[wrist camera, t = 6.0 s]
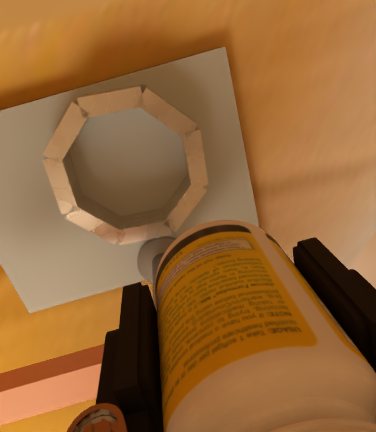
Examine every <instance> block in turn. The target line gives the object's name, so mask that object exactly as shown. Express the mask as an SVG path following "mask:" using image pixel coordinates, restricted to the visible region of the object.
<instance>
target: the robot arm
mask: <svg viewBox="0 0 376 432" xmlns="http://www.w3.org/2000/svg"><path fill="white" fill-rule="evenodd" d="M293 256H294V265H295V266H296V268H297V269H298V271H299V272H300V273H301V274H302V276H303V277H304V278H305V280H306V281H307V282H308V284H309V285H310V286H311V288H312V289H313V290H314V292H315V293H316V294H317V296H318V297H319V298H320V299H321V301H322V302H323V303H324V305H325V306H326V308H327V309H328V310H329V312H330V313H331V314H332V315H333V317H334V318H335V319H336V321H337V322H338V323H339V325H340V326H341V327H342V329H343V330H344V331H345V333H346V334H347V335H348V337H349V338H350V339H351V341H352V342H353V343H354V344H355V346H356V347H357V348H358V350H359V351H360V352H361V354H362V355H363V356H364V357H365V359H366V360H367V361H368V363H369V364H370V366H371V367H372V368H373V370H374V371H375V373H376V289H375V288H374V287H373V286H372V285H371V284H370V283H369V282H368V281H367V280H365V279H364V278H363V277H362V276H361V275H360V274H359V273H358V272H357V271H356V270H353V269H350V270H348V269H347V268H346V267H345V266H344V265H343V264H342V263H341V262H340V261H339V260H338V259H337V258H336V257H335V256H334V255H333V254H332V253H331V252H330V251H329V250H328V249H327V248H326V247H325V246H324V245H323V244H322V243H321V242H320V241H319V240H318V239H317V238H310V239H306V240H302V241H299V242H298V244H297V247H294V248H293ZM67 432H164V426H163V409H162V392H161V377H160V358H159V341H158V326H157V311H156V308H155V305H154V302H153V299H152V296H151V293H150V290H149V287H148V285H144V286H142V284H141V283H140V282H138V283H134V284H130V285H126V286H124V287H123V294H122V304H121V314H120V324H119V329H117V330H113V331H109V332H107V334H106V337H105V344H104V351H103V358H102V364H101V371H100V378H99V385H98V392H97V398H96V405H94V406H91V407H89V408H88V409H86V410H85V411H83V412H82V413H81V414H80V415H79V416H77V417H76V418H75V419H74V421H73V422H72V424H71V425H70V427H69V428H68V430H67Z"/></svg>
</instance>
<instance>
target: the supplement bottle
mask: <svg viewBox="0 0 376 432" xmlns="http://www.w3.org/2000/svg"><path fill="white" fill-rule="evenodd" d="M155 296H156V307H157V326H158V341H159V358H160V377H161V392H162V409H163V426H164V432H376V373H375V371H374V370H373V368H372V367H371V366H370V364H369V363H368V361H367V360H366V359H365V357H364V356H363V355H362V354H361V352H360V351H359V350H358V348H357V347H356V346H355V344H354V343H353V342H352V341H351V339H350V338H349V337H348V335H347V334H346V333H345V331H344V330H343V329H342V327H341V326H340V325H339V323H338V322H337V321H336V319H335V318H334V317H333V315H332V314H331V313H330V312H329V310H328V309H327V308H326V306H325V305H324V303H323V302H322V301H321V299H320V298H319V297H318V296H317V294H316V293H315V292H314V290H313V289H312V288H311V286H310V285H309V284H308V282H307V281H306V280H305V278H304V277H303V276H302V274H301V273H300V272H299V271H298V269H297V268H296V266H295V265H294V264H293V263H292V261H291V260H290V259H289V257H288V256H287V255H286V254H285V252H284V251H283V250H282V248H281V247H280V246H279V244H278V243H277V242H276V241H275V240H274V239H273V237H271V236H270V235H269V234H268V233H267V232H266V231H264V230H262V229H261V228H259V227H257V226H255V225H253V224H250V223H246V222H242V221H236V220H215V221H209V222H206V223H202V224H200V225H197V226H195V227H193V228H191V229H189V230H188V231H186V232H184V233H183V234H182V235H180V236H179V237H178V238H177V239H176V240H175V241H174V242H173V243H172V244H171V245H170V246H169V247H168V249H167V250H166V252H165V253H164V255H163V257H162V259H161V261H160V264H159V266H158V270H157V274H156V283H155Z"/></svg>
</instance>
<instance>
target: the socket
mask: <svg viewBox="0 0 376 432" xmlns="http://www.w3.org/2000/svg"><path fill="white" fill-rule="evenodd" d="M134 108H142V109H143V110H144V111H146V112H147V113H149V114H150V115H152V116H153V117H154V118H156V119H157V120H159V121H160V122H162V123H163V124H165V125H166V126H167V127H169V128H170V129H172V130H173V131H175V132H176V133H177V134H179V135H180V136H181V142H182V148H183V153H184V159H185V165H186V170H187V175H186V177H185V178H184V179H183V181H182V182H181V183H180V185H179V186H178V188H177V189H176V190H175V192H174V193H173V195H172V196H171V197H170V199H169V200H168V202H167V203H166V204H165V206H164V207H163V208H160V209H155V210H150V211H145V212H140V213H135V214H130V215H125V216H120V215H119V214H117V213H115V212H113V211H112V210H110V209H108V208H106V207H105V206H103V205H101V204H99V203H97V202H96V201H94V200H92V199H90V198H89V197H87V196H85V195H83V192H82V188H81V185H80V182H79V179H78V176H77V173H76V170H75V166H74V163H73V160H72V157H71V154H70V151H71V149H72V147H73V146H74V144H75V142H76V141H77V139H78V137H79V135H80V134H81V132H82V130H83V129H84V127H85V125H86V123H87V122H88V120H89V118H90V117H92V116H97V115H103V114H108V113H113V112H119V111H124V110H129V109H134ZM43 155H45V156H46V157H45V158H44V159H43V160H42V161H43V164H44V167H45V169H46V172H47V175H48V178H49V181H50V183H51V186H52V189H53V192H54V195H55V197H56V200H57V203H58V206H59V209H60V211H61V214H66V213H68V214H67V216H66V218H65V219H67V220H69V221H71V222H73V223H75V224H77V225H78V226H80V227H82V228H84V229H86V230H88V231H90V232H92V233H94V234H95V235H97V236H99V237H101V238H103V239H105V240H107V241H109V242H111V243H112V244H115V243H116V242H117V240H118V242H119V245H123V244H128V243H133V242H138V241H143V240H148V239H153V238H158V237H163V236H168V235H172V233H171V229H172V230H173V231H175V232H176V231H177V230H178V229H179V227H180V226H181V225H182V223H183V222H184V221H185V219H186V218H187V217H188V215H189V214H190V213H191V211H192V210H193V209H194V207H195V206H196V205H197V203H198V202H199V201H200V199H201V198H202V197H203V195H204V194H205V193H206V191H207V188H206V186H207V185H208V178H207V171H206V165H205V158H204V151H203V145H202V138H201V131H200V129H199V127H198V126H197V124H196V123H195V121H194V120H193V119H192V118H190V117H189V116H188V115H186V114H185V113H183V112H182V111H181V110H179V109H178V108H176V107H175V106H174V105H172V104H171V103H170V102H168V101H167V100H165V99H164V98H163V97H161V96H160V95H159V94H157V93H156V92H154V91H153V90H152V89H150V88H149V87H148V86H146V87H145V88H144V90H143V92H142V88H141V84H140V85H135V86H129V87H124V88H118V89H113V90H108V91H102V92H97V93H92V94H86V95H83V96H81V97H78V98H77V99H76V100H74V101H72V103H71V104H70V106H69V108H68V110H67V111H66V113H65V115H64V117H63V119H62V120H61V122H60V124H59V126H58V127H57V129H56V131H55V133H54V135H53V136H52V138H51V140H50V142H49V143H48V145H47V147H46V149H45V151H44V152H43Z"/></svg>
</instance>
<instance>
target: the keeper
mask: <svg viewBox="0 0 376 432" xmlns="http://www.w3.org/2000/svg"><path fill="white" fill-rule="evenodd" d="M103 351H104V344H103V345H99V346H96V347H92V348H89V349H85V350H82V351H78V352H75V353H71V354H68V355H64V356H61V357H57V358H54V359H50V360H47V361H43V362H40V363H36V364H33V365H29V366H25V367H22V368H18V369H15V370H11V371H8V372H4V373H1V374H0V425H4V424H7V423H11V422H14V421H18V420H21V419H25V418H28V417H32V416H35V415H39V414H42V413H46V412H49V411H53V410H56V409H60V408H63V407H67V406H70V405H74V404H77V403H81V402H84V401H88V400H91V399H95V398H97V392H98V385H99V378H100V371H101V364H102V358H103Z"/></svg>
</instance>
